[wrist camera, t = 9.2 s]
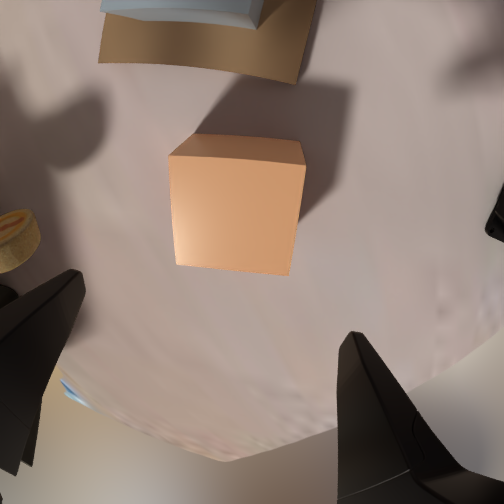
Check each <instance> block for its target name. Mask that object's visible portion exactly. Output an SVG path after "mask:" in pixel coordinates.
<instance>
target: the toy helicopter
mask: <svg viewBox="0 0 504 504" xmlns="http://www.w3.org/2000/svg"><path fill="white" fill-rule="evenodd" d="M40 240H41V234H40V231H39V227H38V224H37V221H36V218H35V215H34V213H33V212H32V211H31V210H30V209H18V210H14V211H11V212H9V213H6V214H4V215H2V216H0V273H4V272H8V271H10V270H12V269H14V268H16V267H18V266H19V265H21V264H22V263H24V262H25V261H26V260H27V259H28V258H30V257H31V256H32V254H33V253H34V252H35V251H36V249H37V247H38V246H39V244H40Z"/></svg>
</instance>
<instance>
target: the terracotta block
mask: <svg viewBox="0 0 504 504" xmlns="http://www.w3.org/2000/svg"><path fill="white" fill-rule="evenodd" d="M168 159H169V180H170V197H171V212H172V224H173V236H174V247H175V257H176V264H178V265H187V266H196V267H205V268H214V269H224V270H233V271H243V272H253V273H263V274H273V275H283V276H289V271H290V265H291V260H292V254H293V248H294V242H295V236H296V230H297V224H298V218H299V211H300V205H301V199H302V192H303V185H304V179H305V172H306V162H305V159H304V155H303V151H302V148H301V144H300V141H292V140H283V139H273V138H263V137H251V136H236V135H218V134H192V135H191V136H190V137H189V138H188V139H187V140H185V141H184V142H183V143H182V144H181V145H180V146H179V147H177V148H176V149H175V150H174V151H173V152H172V153H171V154H170V155H168Z"/></svg>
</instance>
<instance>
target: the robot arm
mask: <svg viewBox="0 0 504 504" xmlns="http://www.w3.org/2000/svg"><path fill="white" fill-rule="evenodd" d="M491 228H492V229H491ZM490 229H491V230H490ZM485 232H486V233H487V234H488V235H489V236H490V237H493V238H495V239H497V240H499V241H502V242H504V190H503V192H502V194H501V196H500V198H499V201H498V203H497V205H496V207H495V209H494V211H493V213H492V215H491V217H490V219H489V221H488V223H487V225H486V227H485ZM85 292H86V289H85V284H84V279H83V274H82V272H81V271H78V270H75V269H69V270H67V271H65V272H63V273H62V274H60V275H58V276H56V277H54V278H53V279H51V280H49V281H47V282H45V283H44V284H42V285H40V286H38V287H37V288H35V289H33V290H31V291H30V292H28V293H26V294H25V295H23V296H21V297H20V298H18V299H16V300H14V301H13V302H11V303H9V304H8V305H6V306H5V307H3V308H1V309H0V468H1V469H2V470H4V471H6V472H8V473H10V474H12V475H14V476H16V475H17V472H18V469H19V465H20V461H21V458H22V455H23V451H24V448H25V445H26V442H27V438H28V435H29V432H30V429H31V426H32V423H33V420H34V418H35V415H36V412H37V409H38V407H39V404H40V401H41V399H42V396H43V394H44V391H45V389H46V386H47V384H48V382H49V379H50V377H51V374H52V372H53V370H54V367H55V365H56V363H57V361H58V358H59V356H60V354H61V352H62V350H63V348H64V346H65V343H66V341H67V339H68V337H69V335H70V333H71V330H72V328H73V325H74V322H75V320H76V317H77V314H78V312H79V309H80V307H81V304H82V302H83V299H84V297H85ZM337 421H338V496H337V499H338V500H337V504H504V482H503V481H499V480H496V479H493V478H490V477H487V476H483V475H480V474H477V473H474V472H471V471H468V470H467V469H465V468H463V467H462V466H461V465H460V464H459V463H458V462H457V461H456V460H455V459H454V457H453V456H452V455H451V454H450V453H449V451H448V450H447V449H446V448H445V446H444V445H443V444H442V443H441V441H440V440H439V439H438V438H437V436H436V435H435V434H434V433H433V432H432V430H431V429H430V427H429V426H428V425H427V423H426V422H425V420H424V419H423V417H422V416H421V414H420V413H419V411H417V409H416V407H415V406H414V404H413V403H412V401H411V400H410V399H409V397H408V396H407V394H406V393H405V391H404V390H403V388H402V387H401V386H400V384H399V383H398V381H397V380H396V378H395V377H394V376H393V374H392V373H391V371H390V370H389V369H388V367H387V366H386V364H385V363H384V362H383V360H382V359H381V357H380V356H379V355H378V353H377V352H376V351H375V349H374V348H373V346H372V345H371V344H370V342H369V341H368V340H367V338H366V337H365V336H364V334H363V333H361V332H355V331H351V332H349V334H348V335H347V337H346V338H345V340H344V341H343V343H342V344H341V346H340V348H339V357H338V375H337ZM2 500H3V498H2V496H1V494H0V504H2Z"/></svg>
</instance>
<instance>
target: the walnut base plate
mask: <svg viewBox="0 0 504 504" xmlns="http://www.w3.org/2000/svg"><path fill="white" fill-rule="evenodd" d="M316 2H317V0H264V2H263V6H262V10H261V14H260V18H259V22H258V26H257V30H254V29H248V28H242V27H235V26H227V25H219V24H209V23H197V22H181V21H142V20H138V19H134V18H129V17H125V16H120V15H116V14H110V13H106V17H105V22H104V27H103V33H102V39H101V46H100V53H99V60H98V63H148V64H166V65H179V66H190V67H199V68H207V69H215V70H222V71H228V72H235V73H240V74H246V75H251V76H257V77H262V78H267V79H271V80H276V81H280V82H285V83H289V84H293V85H296V81H297V77H298V73H299V69H300V65H301V62H302V58H303V54H304V50H305V46H306V42H307V38H308V34H309V30H310V26H311V22H312V18H313V14H314V10H315V6H316Z"/></svg>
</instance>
